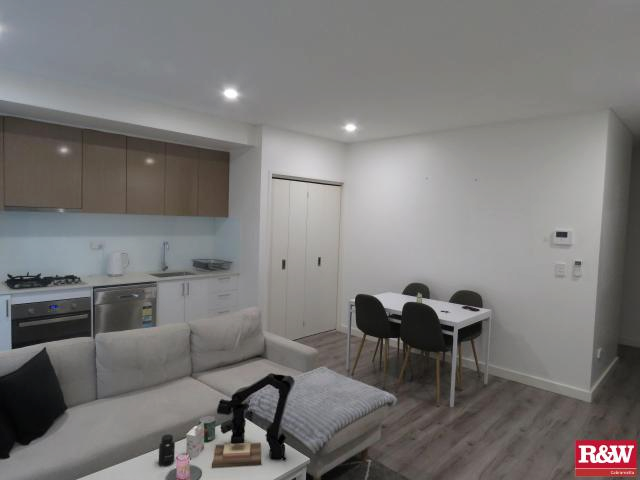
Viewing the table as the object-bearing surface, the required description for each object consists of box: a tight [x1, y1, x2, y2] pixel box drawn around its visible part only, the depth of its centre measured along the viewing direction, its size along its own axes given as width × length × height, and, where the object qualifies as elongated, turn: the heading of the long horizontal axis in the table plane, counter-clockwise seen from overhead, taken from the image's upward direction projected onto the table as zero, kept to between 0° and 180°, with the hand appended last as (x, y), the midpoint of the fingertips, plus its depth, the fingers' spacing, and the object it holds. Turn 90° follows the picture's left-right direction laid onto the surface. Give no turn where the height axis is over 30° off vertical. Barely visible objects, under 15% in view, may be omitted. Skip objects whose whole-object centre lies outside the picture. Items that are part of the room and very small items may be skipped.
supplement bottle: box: [158, 434, 176, 467], centre depth 187 cm, size 7×7×12 cm
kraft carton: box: [223, 441, 251, 462], centre depth 191 cm, size 9×12×5 cm
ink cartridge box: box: [186, 421, 205, 459], centre depth 194 cm, size 9×5×15 cm, turn 168°
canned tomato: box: [198, 415, 216, 443], centre depth 207 cm, size 8×8×11 cm
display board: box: [211, 442, 262, 469], centre depth 194 cm, size 19×22×3 cm
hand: (238, 447), depth 198 cm, fingers closed
